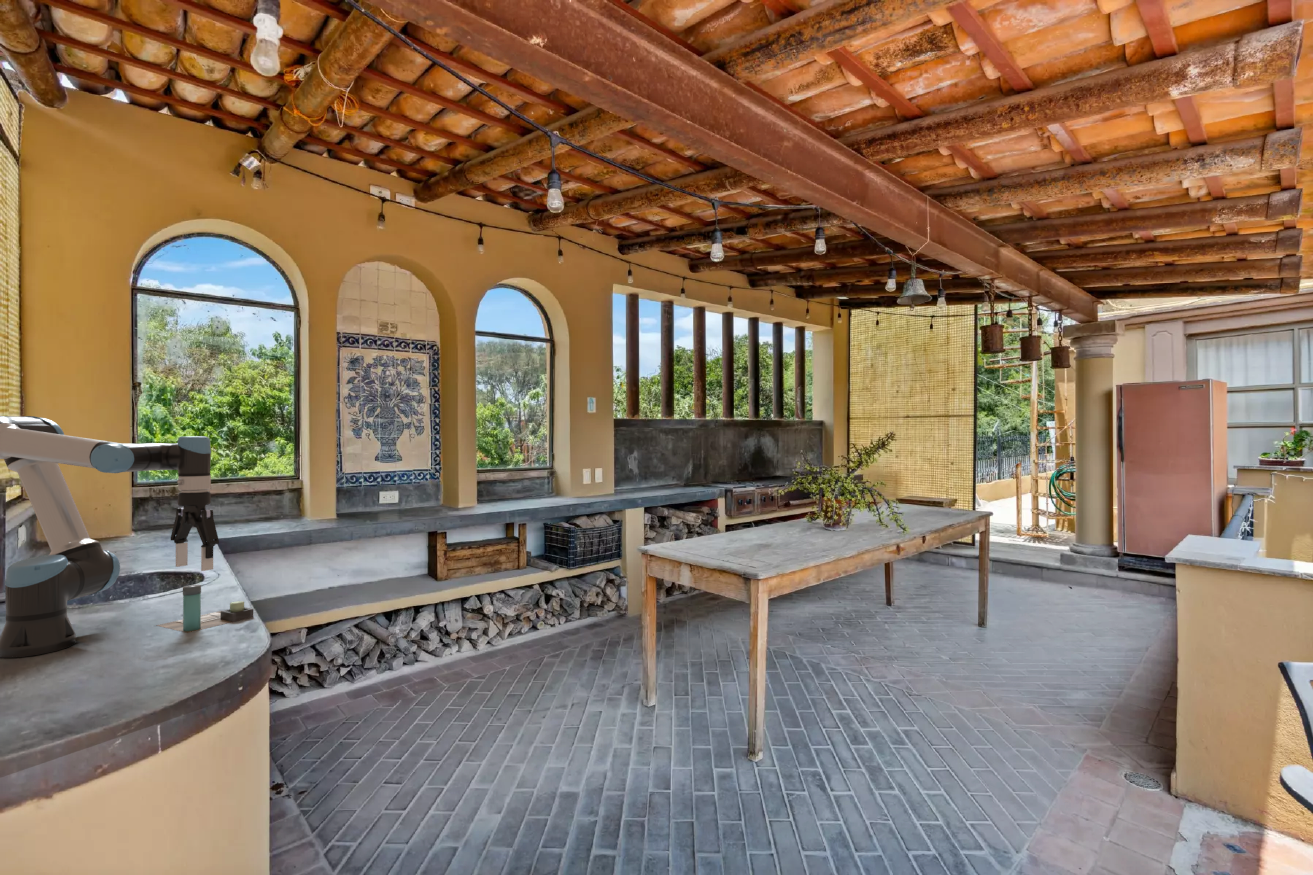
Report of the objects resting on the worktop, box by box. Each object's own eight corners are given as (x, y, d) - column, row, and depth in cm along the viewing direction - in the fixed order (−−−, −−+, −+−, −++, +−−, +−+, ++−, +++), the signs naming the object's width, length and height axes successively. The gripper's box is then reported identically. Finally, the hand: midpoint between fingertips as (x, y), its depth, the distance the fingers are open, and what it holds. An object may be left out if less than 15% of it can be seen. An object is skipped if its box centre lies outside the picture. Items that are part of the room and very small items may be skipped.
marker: (179, 631, 180) (179, 588, 180) (186, 627, 184) (186, 585, 184) (197, 630, 181) (197, 587, 181) (203, 626, 185) (203, 584, 185)
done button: (227, 612, 193) (227, 603, 193) (239, 609, 196) (239, 600, 196) (234, 614, 191) (234, 604, 191) (246, 611, 194) (246, 601, 194)
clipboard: (156, 629, 186) (156, 616, 186) (222, 614, 202) (222, 602, 202) (187, 637, 179) (187, 624, 179) (253, 620, 195) (253, 608, 195)
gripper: (155, 490, 185) (155, 566, 185) (204, 493, 174) (204, 574, 174) (184, 488, 192) (184, 561, 192) (233, 491, 181) (233, 569, 181)
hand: (194, 568), depth 183 cm, fingers open, 12 cm apart
